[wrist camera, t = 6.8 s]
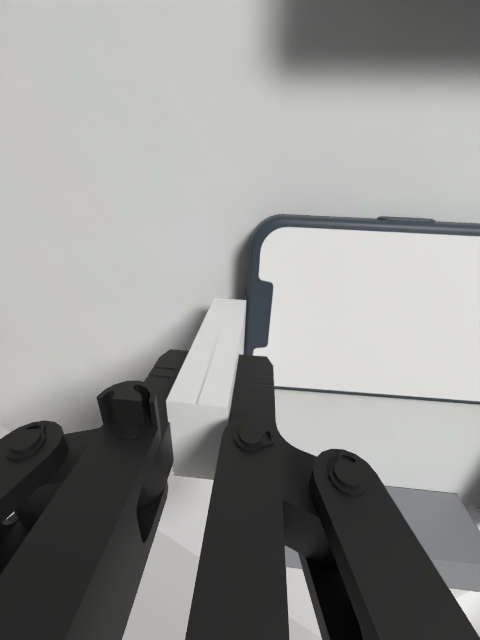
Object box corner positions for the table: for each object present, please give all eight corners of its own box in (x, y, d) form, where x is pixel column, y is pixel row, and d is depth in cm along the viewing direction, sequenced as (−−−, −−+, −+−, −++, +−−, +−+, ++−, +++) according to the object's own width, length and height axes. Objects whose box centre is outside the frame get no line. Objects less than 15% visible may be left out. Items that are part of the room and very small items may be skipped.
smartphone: (639, 227, 11) (252, 208, 12) (695, 233, 10) (251, 212, 10) (528, 392, 15) (243, 371, 16) (557, 414, 14) (241, 390, 14)
